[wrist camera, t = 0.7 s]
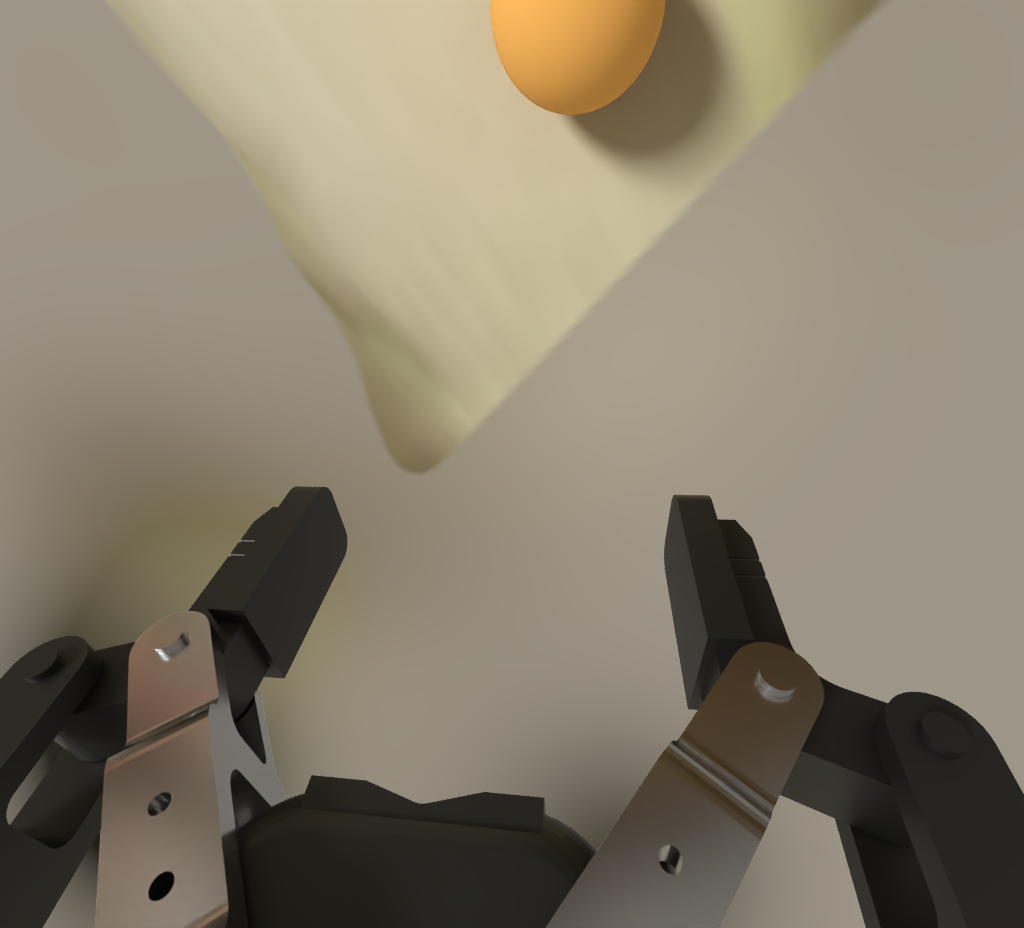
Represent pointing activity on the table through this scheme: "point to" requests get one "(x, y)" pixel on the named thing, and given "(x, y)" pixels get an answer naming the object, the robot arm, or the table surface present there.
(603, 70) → the ball
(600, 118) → the table surface
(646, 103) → the table surface
